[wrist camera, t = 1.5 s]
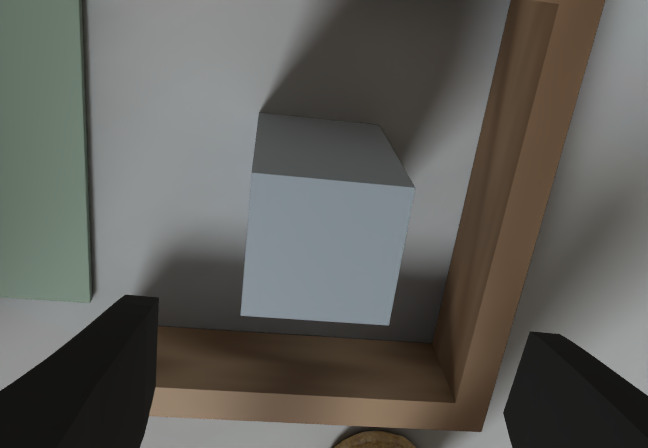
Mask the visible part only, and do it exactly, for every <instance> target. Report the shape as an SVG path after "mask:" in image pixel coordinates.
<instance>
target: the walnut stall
mask: <svg viewBox="0 0 648 448" xmlns="http://www.w3.org/2000/svg"><path fill="white" fill-rule="evenodd" d="M604 3H605V0H511V2H510V6H509V10H508V15H507V19H506V23H505V28H504V32H503V37H502V41H501V45H500V50H499V54H498V58H497V63H496V67H495V71H494V76H493V80H492V85H491V89H490V93H489V98H488V102H487V106H486V111H485V115H484V119H483V124H482V128H481V133H480V137H479V141H478V146H477V150H476V154H475V159H474V163H473V168H472V172H471V176H470V181H469V185H468V189H467V194H466V198H465V202H464V207H463V211H462V216H461V220H460V224H459V229H458V233H457V237H456V242H455V246H454V250H453V255H452V259H451V264H450V268H449V272H448V277H447V281H446V285H445V290H444V294H443V298H442V303H441V307H440V312H439V316H438V320H437V325H436V329H435V333H434V338H433V342H432V344H430V343H414V342H399V341H383V340H367V339H352V338H336V337H320V336H305V335H289V334H273V333H258V332H242V331H226V330H210V329H195V328H179V327H163V326H158V335H157V367H156V388H155V392H154V396H153V401H152V405H151V409H150V414H149V416H159V417H179V418H200V419H221V420H242V421H263V422H284V423H305V424H326V425H347V426H368V427H388V428H409V429H430V430H451V431H472V432H481V431H482V428H483V425H484V421H485V418H486V414H487V411H488V407H489V404H490V400H491V397H492V393H493V390H494V386H495V383H496V379H497V376H498V372H499V369H500V365H501V362H502V358H503V355H504V351H505V348H506V344H507V341H508V338H509V334H510V331H511V327H512V324H513V320H514V317H515V313H516V310H517V306H518V303H519V299H520V296H521V292H522V289H523V285H524V282H525V278H526V275H527V271H528V268H529V264H530V261H531V257H532V254H533V251H534V247H535V244H536V240H537V237H538V233H539V230H540V226H541V223H542V219H543V216H544V212H545V209H546V205H547V202H548V198H549V195H550V191H551V188H552V184H553V181H554V177H555V174H556V170H557V167H558V163H559V160H560V157H561V153H562V150H563V146H564V143H565V139H566V136H567V132H568V129H569V125H570V122H571V118H572V115H573V111H574V108H575V104H576V101H577V97H578V94H579V90H580V87H581V83H582V80H583V76H584V73H585V70H586V66H587V63H588V59H589V56H590V52H591V49H592V45H593V42H594V38H595V35H596V31H597V28H598V24H599V21H600V17H601V14H602V10H603V7H604Z"/></svg>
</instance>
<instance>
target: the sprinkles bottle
mask: <svg viewBox="0 0 648 448" xmlns="http://www.w3.org/2000/svg"><path fill="white" fill-rule="evenodd" d="M334 448H416V447H415V446H414V445H413V444H412V443H411V442H410V441H408V440H407V439H406V438H405V437H403V436H400V435H396V434H392V433H389V432H383V431H369V432H362V433H358V434H356V435H353V436H351V437H350V438H347V439H345V440H343V441H342V442H341V443H339V444H338V445H337V446H335V447H334Z"/></svg>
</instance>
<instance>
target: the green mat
mask: <svg viewBox="0 0 648 448" xmlns="http://www.w3.org/2000/svg"><path fill="white" fill-rule="evenodd" d="M0 297H6V298H21V299H35V300H50V301H65V302H80V303H90V302H91V300H92V276H91V248H90V219H89V191H88V162H87V134H86V105H85V77H84V48H83V20H82V0H0Z"/></svg>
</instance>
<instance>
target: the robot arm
mask: <svg viewBox="0 0 648 448" xmlns="http://www.w3.org/2000/svg"><path fill="white" fill-rule="evenodd" d="M158 304H159V298H156V297H145V296H134V295H124V296H123V297H122V298H120V299H119V300H118V301H117V302H115V303H114V304H113V305H112V306H110V307H109V308H108V309H107V310H106V311H105V312H103V313H102V314H101V315H100V316H99V317H98V318H96V319H95V320H94V321H93V322H92V323H91V324H89V325H88V326H87V327H86V328H85V329H83V330H82V331H81V332H80V333H78V334H77V335H76V336H75V337H73V338H72V339H71V340H70V341H68V342H67V343H66V344H65V345H63V346H62V347H61V348H60V349H58V350H57V351H56V352H55V353H53V354H52V355H51V356H49V357H48V358H47V359H45V360H44V361H43V362H41V363H40V364H38V365H37V366H36V367H34V368H33V369H31V370H30V371H28V372H27V373H26V374H24V375H23V376H21V377H20V378H19V379H17V380H16V381H14V382H13V383H11V384H10V385H8V386H7V387H5V388H4V389H2V390H1V391H0V448H140V445H141V442H142V440H143V437H144V434H145V430H146V426H147V422H148V418H149V414H150V409H151V405H152V401H153V396H154V392H155V388H156V367H157V335H158ZM503 414H504V418H505V422H506V425H507V429H508V433H509V437H510V441H511V444H512V448H648V396H647V395H646V394H644V393H643V392H642V391H640V390H639V389H638V388H636V387H635V386H633V385H632V384H631V383H629V382H628V381H626V380H625V379H624V378H622V377H621V376H620V375H618V374H617V373H616V372H614V371H613V370H611V369H610V368H609V367H607V366H606V365H605V364H603V363H602V362H600V361H599V360H598V359H596V358H595V357H593V356H592V355H591V354H589V353H588V352H586V351H585V350H584V349H582V348H581V347H579V346H578V345H576V344H575V343H573V342H572V341H570V340H568V339H567V338H565V337H563V336H562V335H560V334H552V333H541V332H530V333H529V336H528V339H527V342H526V345H525V348H524V351H523V354H522V357H521V360H520V363H519V366H518V369H517V373H516V376H515V379H514V382H513V385H512V388H511V391H510V394H509V397H508V400H507V403H506V406H505V409H504V412H503Z"/></svg>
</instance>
